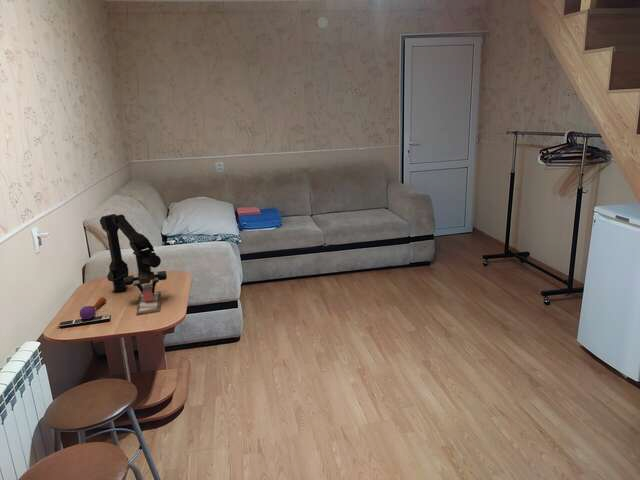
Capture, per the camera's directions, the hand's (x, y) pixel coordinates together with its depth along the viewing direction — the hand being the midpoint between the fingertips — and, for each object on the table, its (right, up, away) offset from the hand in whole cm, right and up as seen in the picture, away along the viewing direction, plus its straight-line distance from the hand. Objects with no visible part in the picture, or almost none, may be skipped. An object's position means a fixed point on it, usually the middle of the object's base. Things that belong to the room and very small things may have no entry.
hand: (148, 294), depth 223 cm
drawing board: (+1, -4, -3) cm, 5 cm away
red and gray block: (0, -1, 0) cm, 1 cm away
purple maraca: (-22, -7, -8) cm, 24 cm away
